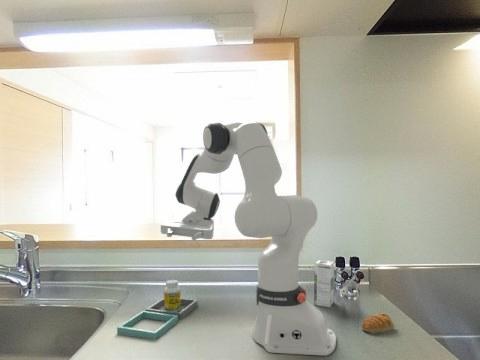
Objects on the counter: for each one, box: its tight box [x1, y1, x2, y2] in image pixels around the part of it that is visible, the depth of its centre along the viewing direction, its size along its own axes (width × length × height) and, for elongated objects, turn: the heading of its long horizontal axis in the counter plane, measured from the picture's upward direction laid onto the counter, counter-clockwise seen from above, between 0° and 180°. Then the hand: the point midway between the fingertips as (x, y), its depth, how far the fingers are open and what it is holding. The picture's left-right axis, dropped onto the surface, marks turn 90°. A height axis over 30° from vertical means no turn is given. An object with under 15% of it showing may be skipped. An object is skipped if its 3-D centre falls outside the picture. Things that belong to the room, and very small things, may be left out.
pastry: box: [361, 312, 395, 334], centre depth 100 cm, size 9×7×4 cm
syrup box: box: [313, 259, 335, 308], centre depth 120 cm, size 6×6×14 cm
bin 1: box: [116, 310, 179, 340], centre depth 102 cm, size 13×13×2 cm
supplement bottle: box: [163, 279, 182, 312], centre depth 116 cm, size 5×5×10 cm
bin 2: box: [144, 297, 199, 320], centre depth 116 cm, size 13×13×2 cm
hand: (180, 236), depth 124 cm, fingers open, 8 cm apart
